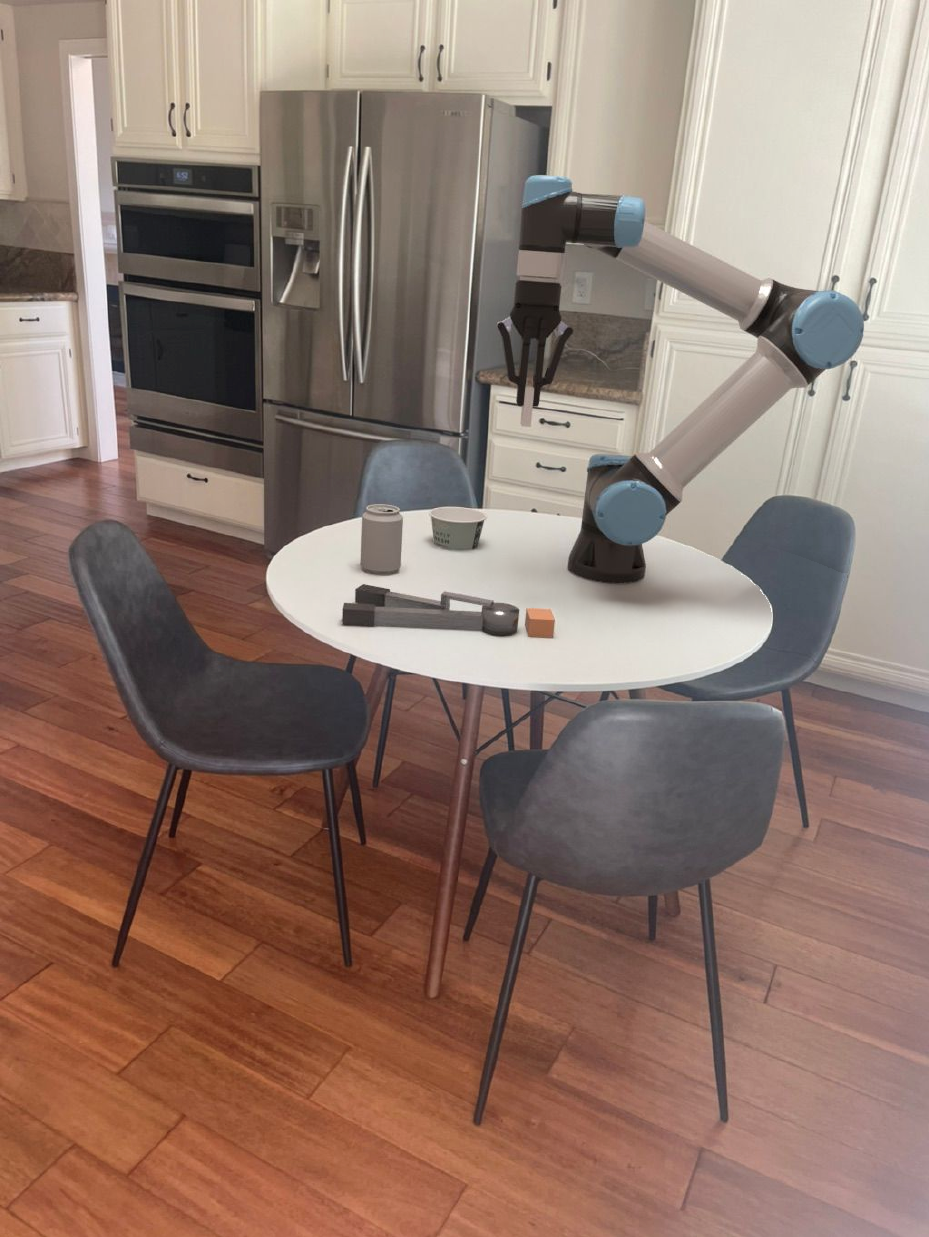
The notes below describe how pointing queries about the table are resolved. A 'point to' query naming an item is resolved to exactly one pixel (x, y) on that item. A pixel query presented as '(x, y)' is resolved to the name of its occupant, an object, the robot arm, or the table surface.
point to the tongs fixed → (435, 618)
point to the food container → (457, 527)
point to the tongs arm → (411, 599)
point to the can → (381, 539)
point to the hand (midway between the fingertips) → (525, 425)
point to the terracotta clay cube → (539, 622)
